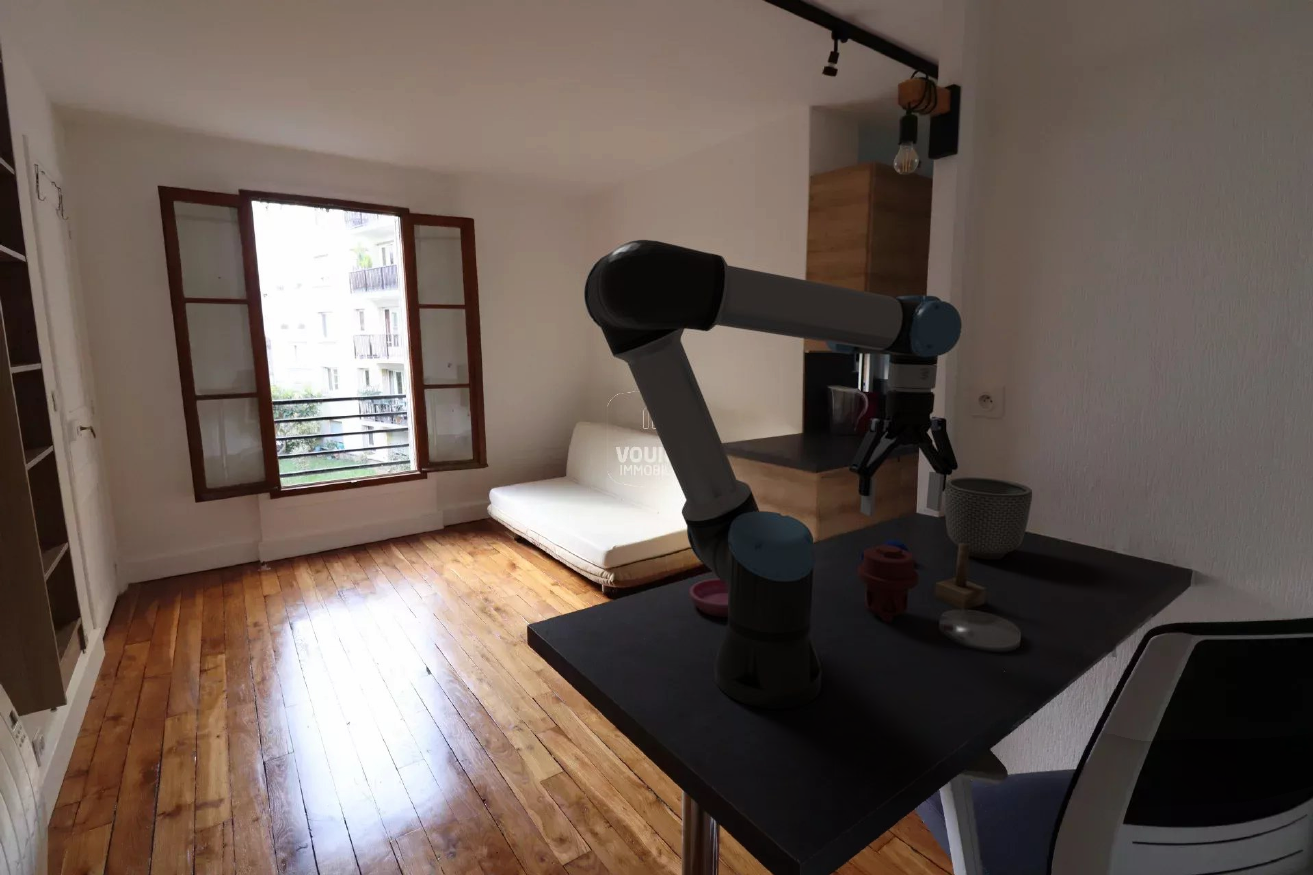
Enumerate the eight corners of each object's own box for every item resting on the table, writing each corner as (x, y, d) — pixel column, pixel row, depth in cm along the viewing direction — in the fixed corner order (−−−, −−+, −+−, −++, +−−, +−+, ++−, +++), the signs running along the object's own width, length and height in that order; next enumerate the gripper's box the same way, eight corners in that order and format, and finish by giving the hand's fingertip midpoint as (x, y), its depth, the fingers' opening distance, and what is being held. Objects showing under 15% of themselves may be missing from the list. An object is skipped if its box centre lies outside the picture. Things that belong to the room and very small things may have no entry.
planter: (1042, 567, 132) (1050, 495, 129) (962, 567, 132) (968, 495, 129) (999, 541, 149) (1005, 477, 146) (928, 541, 149) (932, 476, 146)
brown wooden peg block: (963, 609, 111) (968, 552, 109) (934, 597, 116) (939, 542, 115) (984, 603, 114) (989, 546, 112) (955, 591, 119) (960, 537, 117)
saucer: (680, 597, 117) (680, 581, 117) (739, 589, 121) (739, 574, 120) (704, 625, 105) (704, 608, 105) (769, 616, 109) (769, 599, 109)
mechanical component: (909, 604, 113) (920, 629, 104) (852, 600, 115) (859, 624, 106) (913, 541, 111) (925, 560, 102) (856, 537, 113) (863, 556, 104)
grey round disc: (973, 655, 95) (974, 646, 95) (923, 621, 107) (924, 613, 106) (1038, 646, 98) (1039, 638, 98) (982, 614, 109) (983, 606, 109)
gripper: (859, 392, 96) (850, 522, 100) (988, 391, 103) (975, 513, 106) (833, 388, 103) (825, 510, 107) (955, 387, 110) (944, 502, 114)
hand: (900, 511), depth 107 cm, fingers open, 13 cm apart
